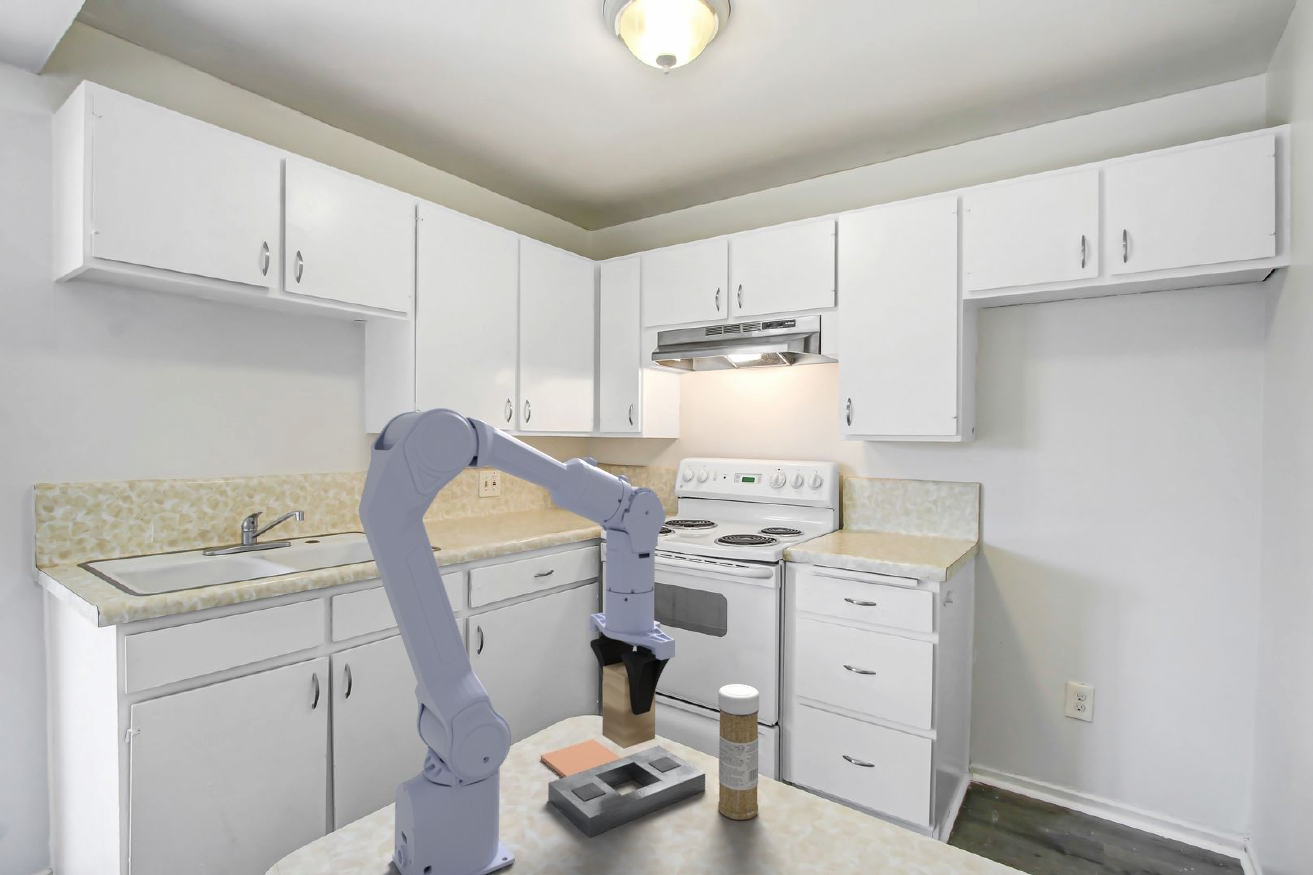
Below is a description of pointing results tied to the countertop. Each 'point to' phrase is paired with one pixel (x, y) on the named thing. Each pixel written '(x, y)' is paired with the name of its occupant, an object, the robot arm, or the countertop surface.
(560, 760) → the tile
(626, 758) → the square hole bar
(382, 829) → the countertop surface
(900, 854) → the countertop surface
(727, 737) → the sprinkles bottle
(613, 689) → the wooden peg
